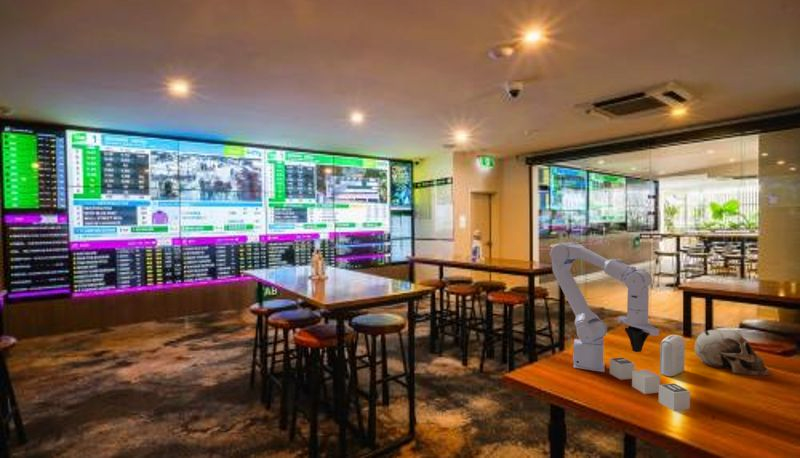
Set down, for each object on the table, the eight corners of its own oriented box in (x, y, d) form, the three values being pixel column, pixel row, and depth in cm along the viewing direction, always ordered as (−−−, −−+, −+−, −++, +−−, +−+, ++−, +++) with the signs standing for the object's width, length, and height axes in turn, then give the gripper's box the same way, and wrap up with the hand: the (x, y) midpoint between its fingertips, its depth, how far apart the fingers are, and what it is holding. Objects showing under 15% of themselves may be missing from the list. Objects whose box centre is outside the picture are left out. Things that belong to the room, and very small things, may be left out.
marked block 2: (658, 402, 112) (658, 383, 112) (673, 400, 113) (674, 382, 113) (673, 411, 107) (674, 391, 107) (689, 409, 108) (689, 390, 108)
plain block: (632, 386, 122) (632, 370, 122) (646, 385, 123) (646, 369, 123) (644, 394, 117) (645, 377, 117) (659, 392, 118) (659, 376, 118)
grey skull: (777, 374, 129) (772, 334, 128) (725, 382, 128) (721, 341, 128) (734, 358, 144) (730, 322, 144) (688, 364, 144) (684, 328, 143)
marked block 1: (609, 373, 132) (609, 357, 132) (622, 372, 133) (623, 356, 133) (620, 379, 127) (620, 363, 127) (634, 378, 128) (634, 362, 128)
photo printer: (671, 366, 137) (672, 331, 136) (686, 370, 133) (687, 334, 133) (657, 373, 131) (658, 336, 130) (672, 378, 128) (673, 340, 127)
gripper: (668, 313, 119) (667, 358, 120) (631, 302, 133) (631, 342, 134) (647, 315, 118) (646, 360, 118) (612, 303, 132) (612, 344, 133)
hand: (636, 351), depth 126 cm, fingers closed
